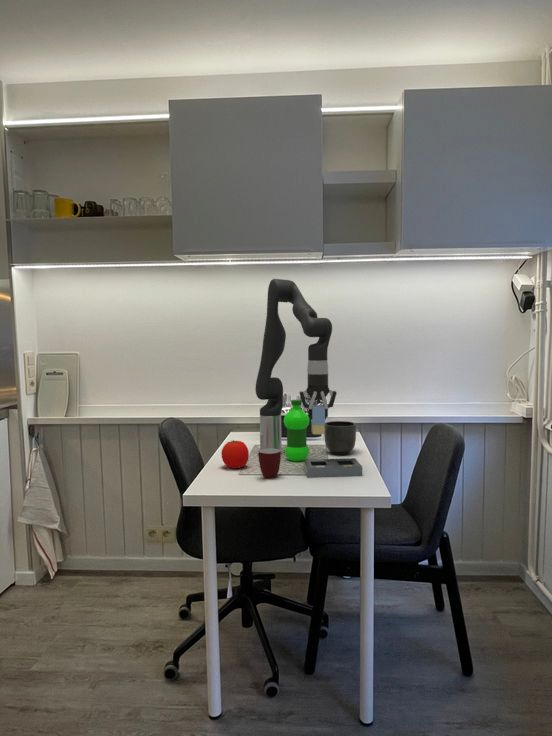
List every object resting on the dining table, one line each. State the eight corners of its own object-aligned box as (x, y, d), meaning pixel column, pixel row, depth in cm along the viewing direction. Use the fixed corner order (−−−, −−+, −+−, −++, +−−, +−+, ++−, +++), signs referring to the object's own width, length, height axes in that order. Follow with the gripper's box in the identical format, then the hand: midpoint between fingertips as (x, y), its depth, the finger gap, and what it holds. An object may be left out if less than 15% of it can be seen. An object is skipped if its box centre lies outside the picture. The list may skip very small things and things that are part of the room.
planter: (328, 448, 225) (328, 420, 224) (359, 450, 220) (359, 421, 219) (320, 455, 212) (320, 425, 211) (352, 458, 207) (352, 427, 206)
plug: (312, 434, 181) (312, 407, 180) (311, 431, 186) (311, 405, 185) (325, 434, 181) (324, 406, 181) (323, 431, 186) (323, 405, 185)
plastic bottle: (302, 465, 197) (301, 402, 195) (279, 462, 203) (278, 401, 201) (314, 459, 205) (313, 399, 204) (292, 456, 211) (291, 398, 209)
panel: (307, 479, 178) (307, 467, 178) (303, 470, 190) (303, 459, 190) (362, 477, 179) (362, 466, 179) (355, 468, 191) (355, 457, 191)
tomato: (250, 463, 200) (249, 437, 200) (247, 471, 190) (246, 443, 189) (224, 463, 201) (223, 437, 200) (219, 471, 191) (219, 443, 190)
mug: (261, 472, 187) (261, 446, 186) (283, 473, 186) (282, 446, 185) (257, 481, 177) (256, 453, 176) (279, 481, 176) (279, 453, 175)
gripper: (299, 373, 178) (299, 421, 179) (339, 373, 178) (339, 420, 180) (297, 372, 185) (297, 417, 186) (335, 371, 186) (335, 416, 187)
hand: (318, 418), depth 183 cm, fingers closed on plug, 4 cm apart
